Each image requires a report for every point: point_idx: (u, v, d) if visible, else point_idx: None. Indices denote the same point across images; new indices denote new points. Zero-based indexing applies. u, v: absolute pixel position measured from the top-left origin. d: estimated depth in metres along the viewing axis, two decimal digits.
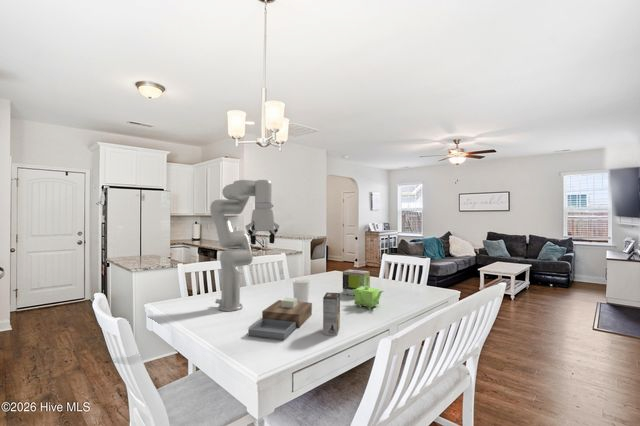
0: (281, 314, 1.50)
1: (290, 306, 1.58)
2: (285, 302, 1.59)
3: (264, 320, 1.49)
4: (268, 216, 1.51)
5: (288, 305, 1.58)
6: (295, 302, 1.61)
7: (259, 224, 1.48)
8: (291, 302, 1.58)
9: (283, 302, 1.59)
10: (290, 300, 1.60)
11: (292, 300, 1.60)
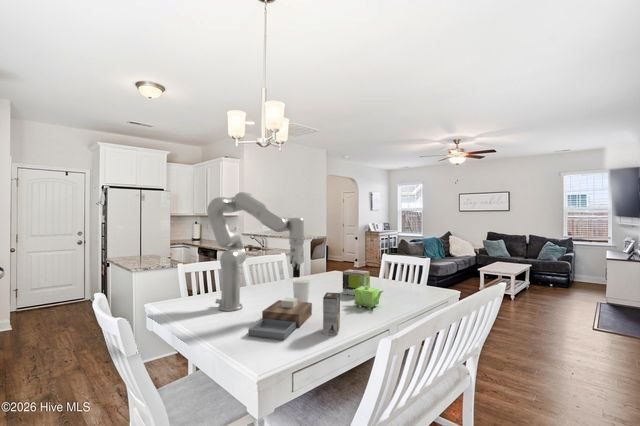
0: (281, 314, 1.50)
1: (290, 306, 1.58)
2: (285, 302, 1.59)
3: (264, 320, 1.49)
4: None
5: (288, 305, 1.58)
6: (295, 302, 1.61)
7: None
8: (291, 302, 1.58)
9: (283, 302, 1.59)
10: (290, 300, 1.60)
11: (292, 300, 1.60)
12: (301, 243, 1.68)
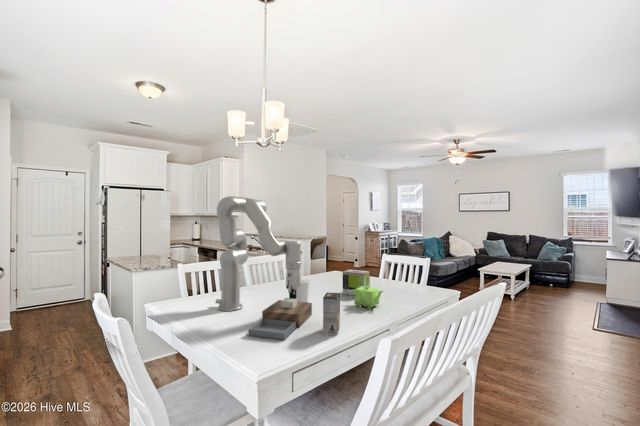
0: (281, 314, 1.50)
1: (290, 306, 1.58)
2: (285, 302, 1.58)
3: (264, 320, 1.49)
4: None
5: (288, 305, 1.58)
6: (295, 302, 1.60)
7: None
8: (291, 302, 1.57)
9: (283, 302, 1.58)
10: (290, 300, 1.59)
11: (292, 300, 1.59)
12: (298, 267, 1.63)
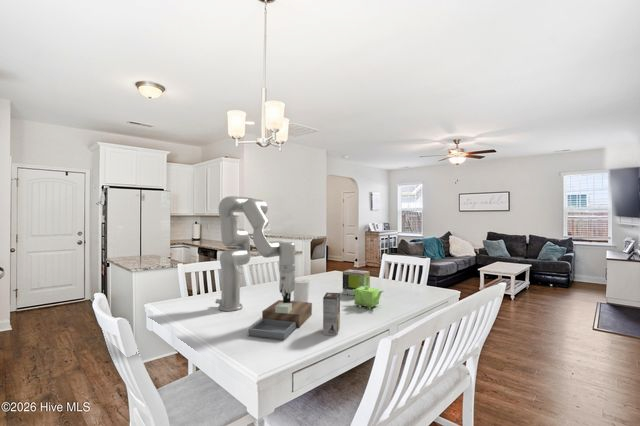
0: (281, 314, 1.50)
1: (284, 312, 1.49)
2: (279, 307, 1.50)
3: (264, 320, 1.49)
4: None
5: (282, 311, 1.49)
6: (289, 307, 1.52)
7: None
8: (285, 307, 1.49)
9: (277, 307, 1.50)
10: (284, 305, 1.51)
11: (286, 305, 1.51)
12: (292, 270, 1.55)
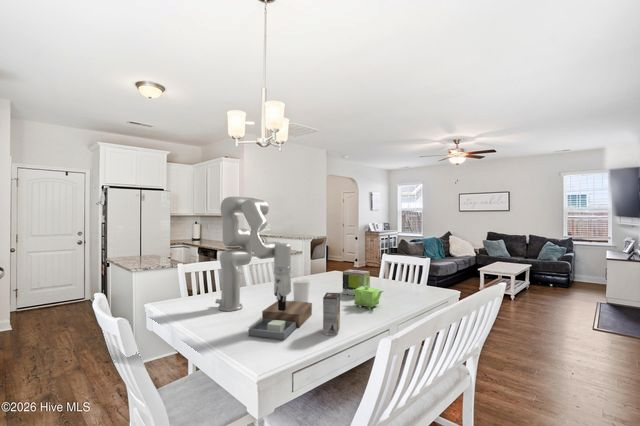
0: (281, 314, 1.50)
1: None
2: None
3: (264, 320, 1.49)
4: None
5: None
6: (282, 327, 1.43)
7: None
8: None
9: None
10: None
11: None
12: (287, 272, 1.49)
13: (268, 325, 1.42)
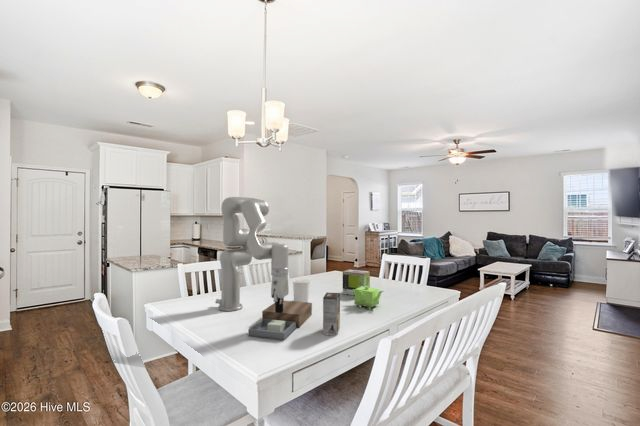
0: (281, 314, 1.50)
1: None
2: None
3: (264, 320, 1.49)
4: None
5: None
6: (282, 327, 1.43)
7: None
8: None
9: None
10: None
11: None
12: (285, 274, 1.46)
13: (268, 325, 1.42)
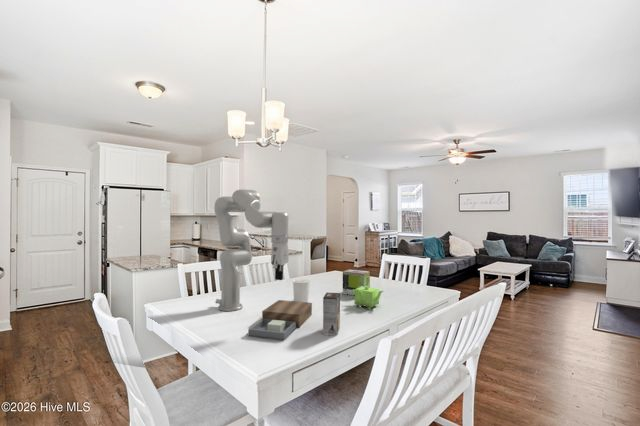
0: (281, 314, 1.50)
1: None
2: None
3: (264, 320, 1.49)
4: None
5: None
6: (282, 327, 1.43)
7: None
8: None
9: None
10: None
11: None
12: (284, 241, 1.47)
13: (268, 325, 1.42)
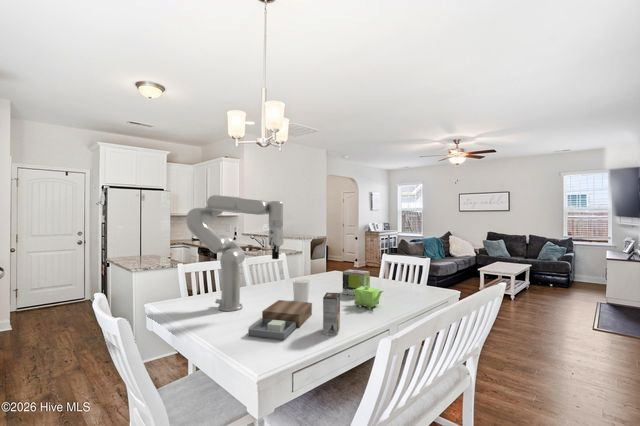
0: (281, 314, 1.50)
1: None
2: None
3: (264, 320, 1.49)
4: None
5: None
6: (282, 327, 1.43)
7: None
8: None
9: None
10: None
11: None
12: (280, 225, 1.72)
13: (268, 325, 1.42)
